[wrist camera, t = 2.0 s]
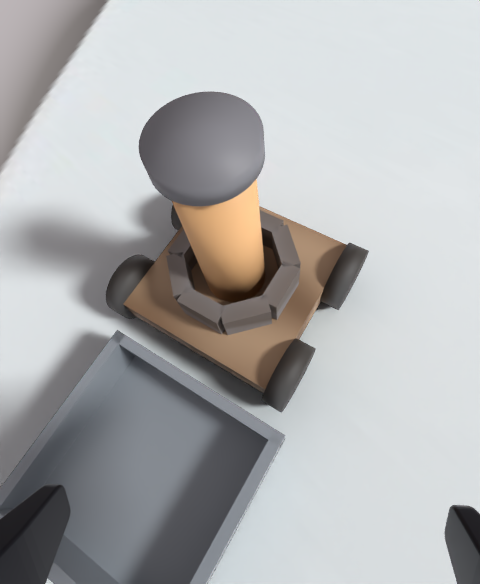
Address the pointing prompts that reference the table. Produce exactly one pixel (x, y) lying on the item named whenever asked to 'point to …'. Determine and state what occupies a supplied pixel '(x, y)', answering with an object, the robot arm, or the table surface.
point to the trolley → (243, 302)
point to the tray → (145, 471)
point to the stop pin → (212, 184)
